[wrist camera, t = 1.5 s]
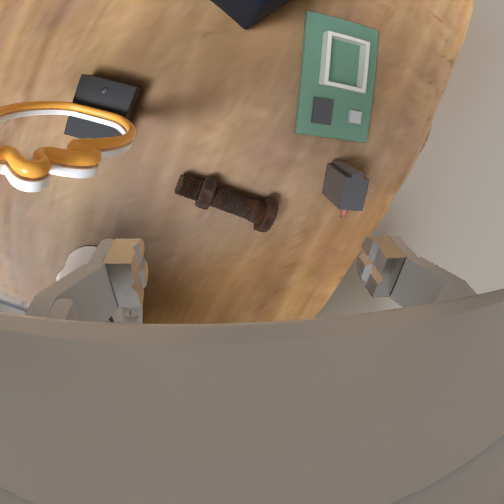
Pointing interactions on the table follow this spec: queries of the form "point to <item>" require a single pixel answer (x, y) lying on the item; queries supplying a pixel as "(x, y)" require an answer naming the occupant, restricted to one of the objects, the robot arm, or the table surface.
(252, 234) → the table surface
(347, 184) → the plug
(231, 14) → the speaker
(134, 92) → the lamp
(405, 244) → the robot arm
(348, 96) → the board
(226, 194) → the bolt
